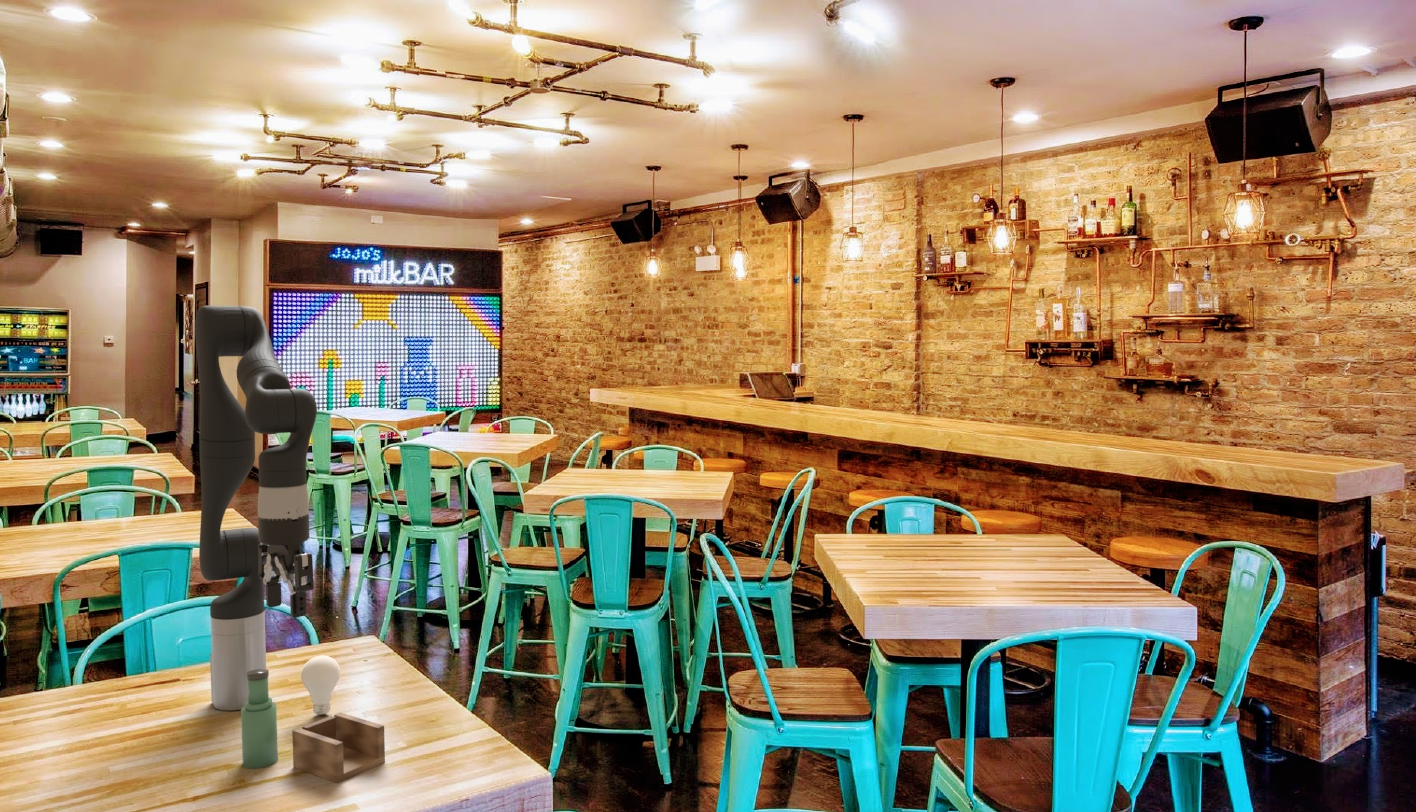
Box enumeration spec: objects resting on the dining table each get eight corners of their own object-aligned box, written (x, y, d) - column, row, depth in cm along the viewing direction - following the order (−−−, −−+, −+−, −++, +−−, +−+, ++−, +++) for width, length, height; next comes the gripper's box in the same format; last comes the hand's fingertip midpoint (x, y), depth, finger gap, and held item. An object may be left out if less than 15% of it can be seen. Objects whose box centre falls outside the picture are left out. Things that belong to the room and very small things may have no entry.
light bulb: (327, 723, 172) (325, 663, 171) (294, 720, 173) (292, 660, 173) (348, 709, 178) (347, 651, 178) (316, 707, 180) (314, 649, 179)
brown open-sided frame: (293, 767, 154) (292, 730, 153) (341, 747, 161) (340, 712, 161) (337, 783, 148) (336, 745, 147) (384, 762, 155) (384, 725, 155)
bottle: (235, 764, 155) (233, 674, 154) (265, 752, 159) (262, 665, 159) (255, 771, 152) (252, 679, 151) (284, 759, 157) (282, 670, 156)
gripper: (240, 510, 156) (243, 608, 157) (281, 521, 147) (283, 625, 148) (286, 504, 162) (288, 598, 163) (327, 515, 153) (329, 614, 154)
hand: (286, 611), depth 156 cm, fingers open, 8 cm apart
